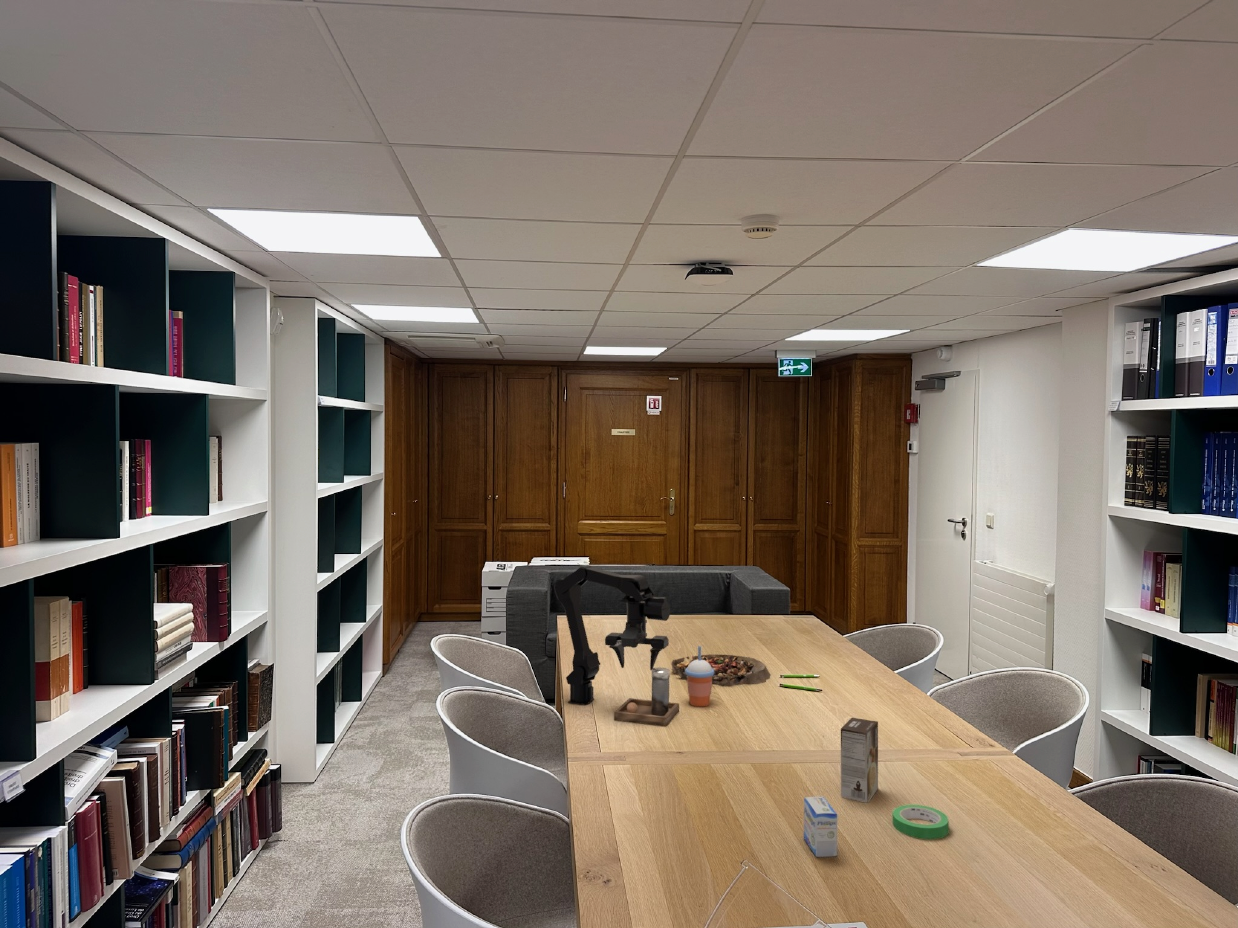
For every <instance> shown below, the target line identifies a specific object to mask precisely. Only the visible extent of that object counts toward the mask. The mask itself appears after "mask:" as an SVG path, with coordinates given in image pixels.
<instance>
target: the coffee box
mask: <svg viewBox="0 0 1238 928" xmlns="http://www.w3.org/2000/svg"><path fill="white" fill-rule="evenodd" d="M878 789H879V721H875V720H869V719H864V718H863V719H862V718H858V717H857V718H856V717H851V718H849V720H848V721H846V723H845V724H844V725H842V727H841V728H840V797H841V798H844V799H849V800H853V801H858V802H862V803H866V804H867V803H869V801H870V800H871V798H872V797H873V796H874V795H875V793H876V792H877V791H878Z"/></svg>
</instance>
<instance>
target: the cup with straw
mask: <svg viewBox="0 0 1238 928" xmlns="http://www.w3.org/2000/svg"><path fill="white" fill-rule="evenodd" d="M697 649H698V650H697V656H698V660H694V661H692V662H691V663H690V664H689V665H688V668H686V670H685V674H686V675H687V678H688V679H687V680H686V682H687V693H688V697H689V704H690V705H692V706H693V707H707V706H709V705H710V702H711V694H712V688H713V686H712V676H713V675H714V670H713V669H712V667H711V665H710V664H709V663H708V662H707V661H705V660H701V655H702V646H701V645H699V646H697Z"/></svg>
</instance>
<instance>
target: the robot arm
mask: <svg viewBox="0 0 1238 928" xmlns="http://www.w3.org/2000/svg"><path fill="white" fill-rule="evenodd" d="M587 582H591V583H592V582H593V583H596V584H599V585H602V586H603V585H604V586H607V587H610V588H614V589H617V590H618V591H619V592H620V593H621V594H624V596H623V597H622V598H621V599H620V603H626V622H625V628H624V630H623V631H622V632H610V633H609V634H607V635H606V636H605V638H604V644H605V646H608V647H609V649H612V650H613V651H614V652H615V654H616V657H617V658H618V661H619V665H620V668H621V669H624V668H625V648H632V649H635V648H637V647H638V645H650V646H651V648H650V649H649V652H650V663H649V670H650V671H652V669H653V668H655V664H656V661H657V659H658V656H659V654H660V652H661V651H662V650H665V648H667V647H668V646H669V638H668V637H667V635H657V634H656V635H654V636H653V637H651V638H650V637H648V633H647V623H648V620H655V621H664V622H666V621H668V620H669V618H670V616H671V606H670V603H669V602H668V601H667V599H668V598H667V597H665V596H662V597H661V596H660V597H659V596H658V597H657V596H656V595H655V593H654V592H653V589H652V588H651V587H650V585H649V582H648V579H647V578H646V576H644V575H642V574H641V575H640V574H619V573H616V572H613V571H609V570H603V569H600V568H597V567H593V566H591V565H584V566H580V567H578V568H577V569H576V570H575V571H573V572H572V573H570V574H569V575H567V576H566V577H563V578H560V579H558V580H557V581H556V582H555V583H554V586H553V587H554V589H553V590H554V592H555V596H556V598H557V600H558V601H559V603H560V604H561V605H562V607H563V608H564V611H565V613H564V614H565V616H566V621H567V625H568V631H569V633H570V634H569V635H570V638H571V642H572V647H573V652H574V653H573V657H572V671H571V672H570V673H569V674H568V675H567V676H566V677H565V679H566V682H567V684H568V685H569V694H570V695H569V697H570V698H569V699H568V702H567V703H568V704H575V705H583V706H584V705H585V706H586V705H589V704H590V703H591V702H593V700H595V697H594V686H593V680H595V678H596V675H597V674H599V671H600V665H601V662H600V659H599V653H598V651H596V652H593V651H592V650H591V648H590V644H589V641H588V636H587V631H586V627H585V623H584V618H583V614H582V610H581V606H580V601H581V596H582V586H584V585H585V584H586V583H587ZM647 619H648V620H647Z"/></svg>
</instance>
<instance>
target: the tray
mask: <svg viewBox="0 0 1238 928" xmlns="http://www.w3.org/2000/svg"><path fill="white" fill-rule="evenodd" d="M651 701H652V699H643V698H642V699H641V698H634V697H633V698H632V697H629V698H628V699H627V700H625V701H624V703H622V704H621V705H620V706H619V707H618V708H616V710H614V711H613V720H614V722H615V721H616V722H625V723H634V724H641V725H642V724H643V725H650V726H651V725H652V726H658V727H667V726H668V725H669V724H670V723H671V722H672V720H674V718H676V716H677V715H678V714H679V713H680V703H678V702H670V701H669V711H668V712H667V714H666V715H665V716H656V715H652V714H651ZM631 702H633V703H635V704H636V705H637V707H638V709H637V711H636V712H635V713H629V712H628V711H627V705H628V704H629V703H631Z"/></svg>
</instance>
